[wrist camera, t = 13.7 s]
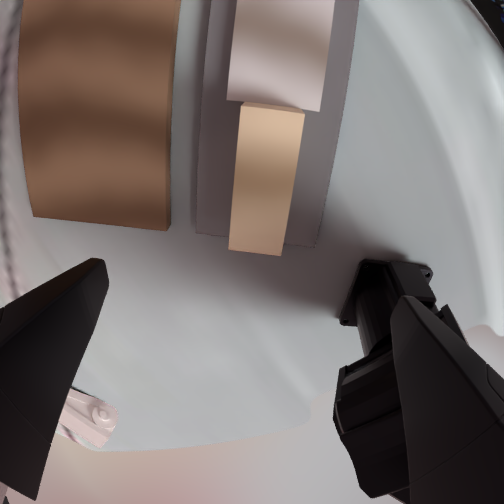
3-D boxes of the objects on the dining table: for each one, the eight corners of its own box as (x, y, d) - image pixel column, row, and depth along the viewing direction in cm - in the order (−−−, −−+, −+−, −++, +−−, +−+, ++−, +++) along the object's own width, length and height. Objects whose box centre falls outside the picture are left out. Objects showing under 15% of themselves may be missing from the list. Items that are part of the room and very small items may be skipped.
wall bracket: (-5, 319, 41) (117, 414, 45) (-26, 348, 35) (99, 448, 39) (-17, 295, 34) (124, 409, 38) (-43, 328, 29) (102, 450, 33)
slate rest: (313, 241, 22) (314, 247, 21) (198, 227, 22) (195, 233, 21) (356, -8, 12) (360, -11, 12) (217, -26, 12) (215, -30, 12)
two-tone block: (295, 232, 20) (298, 258, 18) (219, 223, 20) (210, 247, 18) (332, -2, 12) (344, -15, 10) (241, -14, 12) (234, -30, 10)
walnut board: (170, 224, 22) (166, 231, 21) (40, 211, 22) (33, 216, 21) (206, -129, 7) (204, -136, 6) (55, -92, 7) (48, -95, 6)
